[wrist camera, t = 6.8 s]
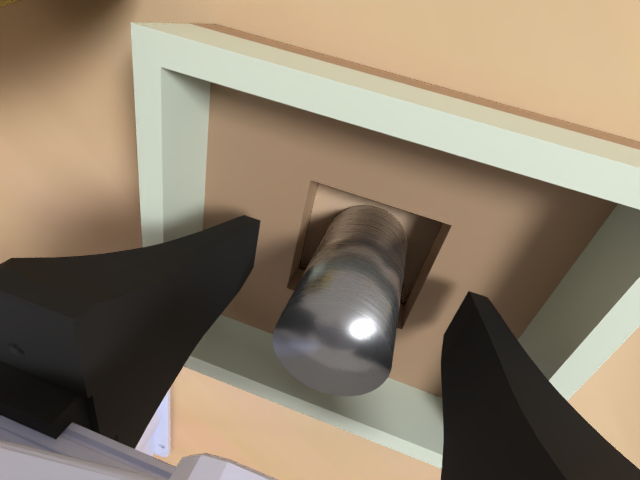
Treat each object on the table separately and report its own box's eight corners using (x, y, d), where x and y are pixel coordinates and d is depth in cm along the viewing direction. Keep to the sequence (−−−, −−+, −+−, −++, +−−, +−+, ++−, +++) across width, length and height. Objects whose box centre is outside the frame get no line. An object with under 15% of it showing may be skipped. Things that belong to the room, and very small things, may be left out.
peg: (394, 285, 15) (374, 411, 10) (320, 263, 16) (267, 373, 11) (418, 218, 14) (408, 328, 9) (335, 196, 14) (279, 287, 9)
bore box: (475, 396, 17) (484, 486, 14) (199, 293, 19) (147, 351, 15) (657, 147, 11) (758, 201, 7) (214, 24, 12) (130, 22, 9)
